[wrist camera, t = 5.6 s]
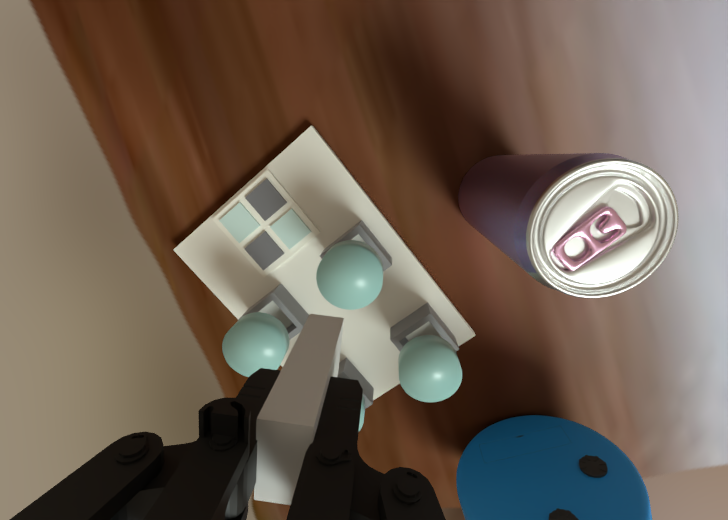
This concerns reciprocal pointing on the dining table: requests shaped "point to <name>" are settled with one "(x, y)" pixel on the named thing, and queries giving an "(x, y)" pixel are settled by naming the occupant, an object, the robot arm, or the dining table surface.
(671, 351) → the dining table surface
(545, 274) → the beverage can
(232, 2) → the dining table surface
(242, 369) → the button
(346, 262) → the button
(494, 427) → the alarm clock
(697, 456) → the dining table surface
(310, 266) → the board
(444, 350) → the button
